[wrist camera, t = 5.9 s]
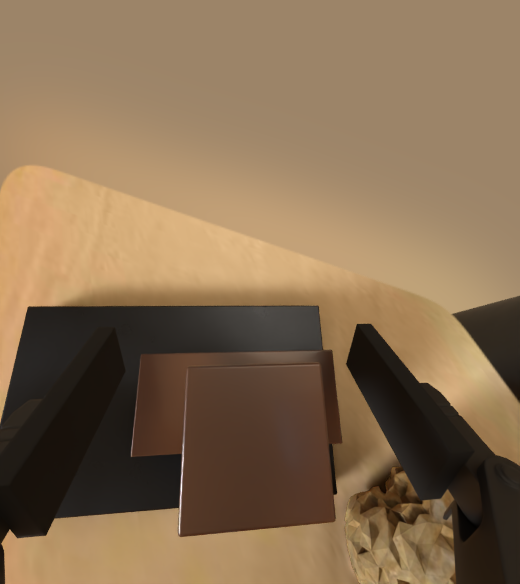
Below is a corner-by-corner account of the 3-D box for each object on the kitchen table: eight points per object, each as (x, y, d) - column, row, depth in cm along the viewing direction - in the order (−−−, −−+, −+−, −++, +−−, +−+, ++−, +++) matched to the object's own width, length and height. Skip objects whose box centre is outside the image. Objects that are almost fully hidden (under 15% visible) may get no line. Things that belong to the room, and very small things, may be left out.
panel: (312, 309, 21) (318, 305, 20) (329, 485, 17) (337, 495, 16) (42, 311, 19) (27, 306, 17) (-2, 511, 15) (-26, 526, 14)
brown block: (316, 353, 19) (470, 317, 7) (324, 431, 17) (537, 566, 5) (155, 357, 17) (-10, 321, 5) (148, 442, 16) (-99, 647, 4)
